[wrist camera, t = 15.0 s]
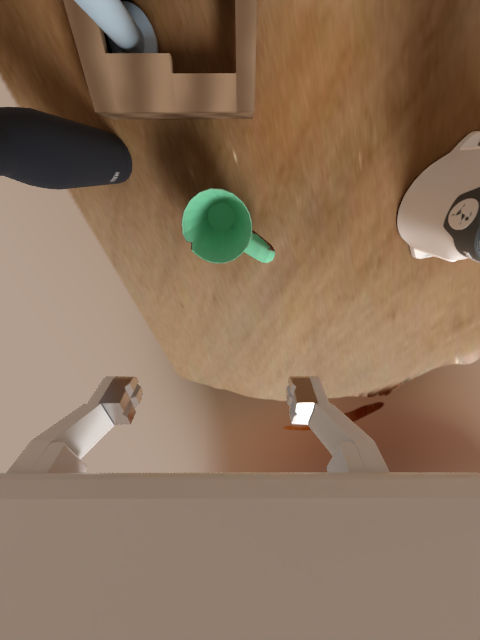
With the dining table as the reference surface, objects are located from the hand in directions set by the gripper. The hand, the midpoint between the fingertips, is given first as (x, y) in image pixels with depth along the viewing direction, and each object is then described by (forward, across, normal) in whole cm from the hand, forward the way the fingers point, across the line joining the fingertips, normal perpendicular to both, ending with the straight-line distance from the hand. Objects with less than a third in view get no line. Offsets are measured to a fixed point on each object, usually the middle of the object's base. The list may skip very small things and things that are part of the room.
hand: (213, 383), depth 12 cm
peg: (+34, +12, -22) cm, 42 cm away
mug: (+34, 0, -1) cm, 34 cm away
